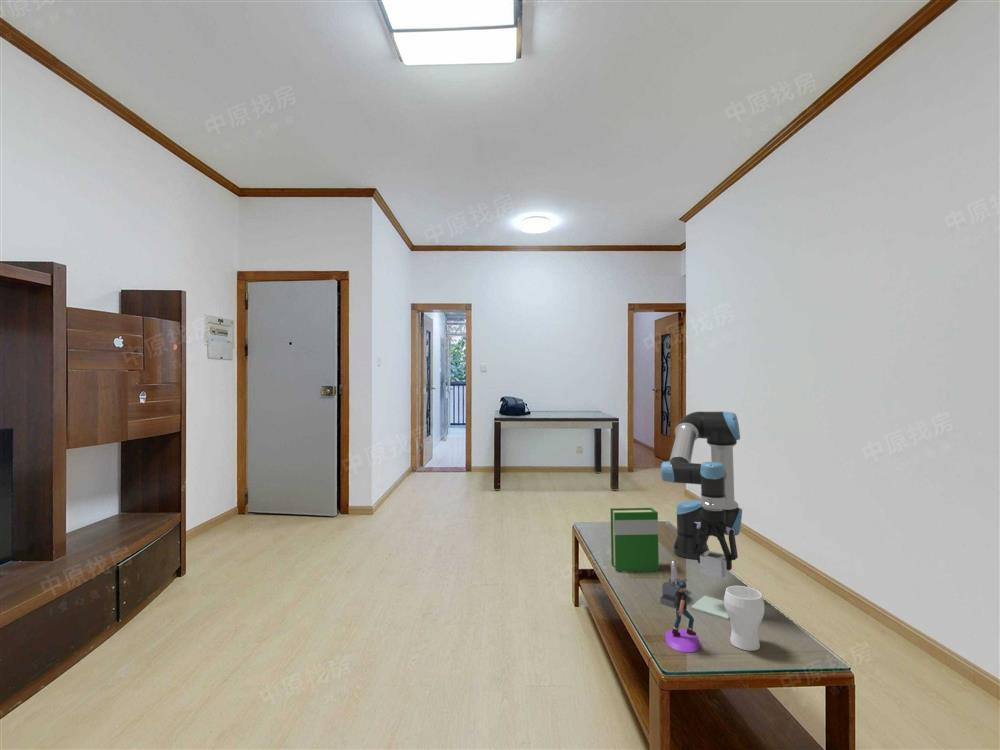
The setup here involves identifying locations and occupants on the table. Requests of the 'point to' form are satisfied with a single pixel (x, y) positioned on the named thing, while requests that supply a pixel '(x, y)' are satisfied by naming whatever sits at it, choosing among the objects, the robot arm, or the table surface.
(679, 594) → the figurine
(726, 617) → the mat
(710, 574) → the grey hollow block
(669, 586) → the vise
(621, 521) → the hardback book
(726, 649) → the table surface
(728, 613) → the cup
